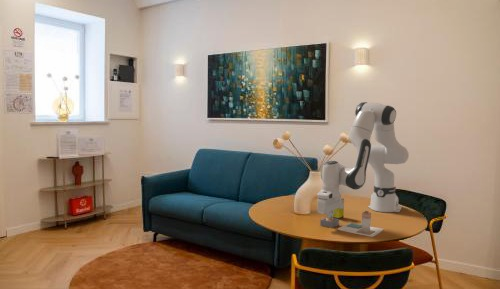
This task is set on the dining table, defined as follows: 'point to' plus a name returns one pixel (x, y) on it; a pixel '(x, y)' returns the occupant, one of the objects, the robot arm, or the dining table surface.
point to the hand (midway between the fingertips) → (329, 218)
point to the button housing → (329, 222)
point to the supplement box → (339, 211)
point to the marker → (366, 221)
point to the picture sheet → (359, 229)
